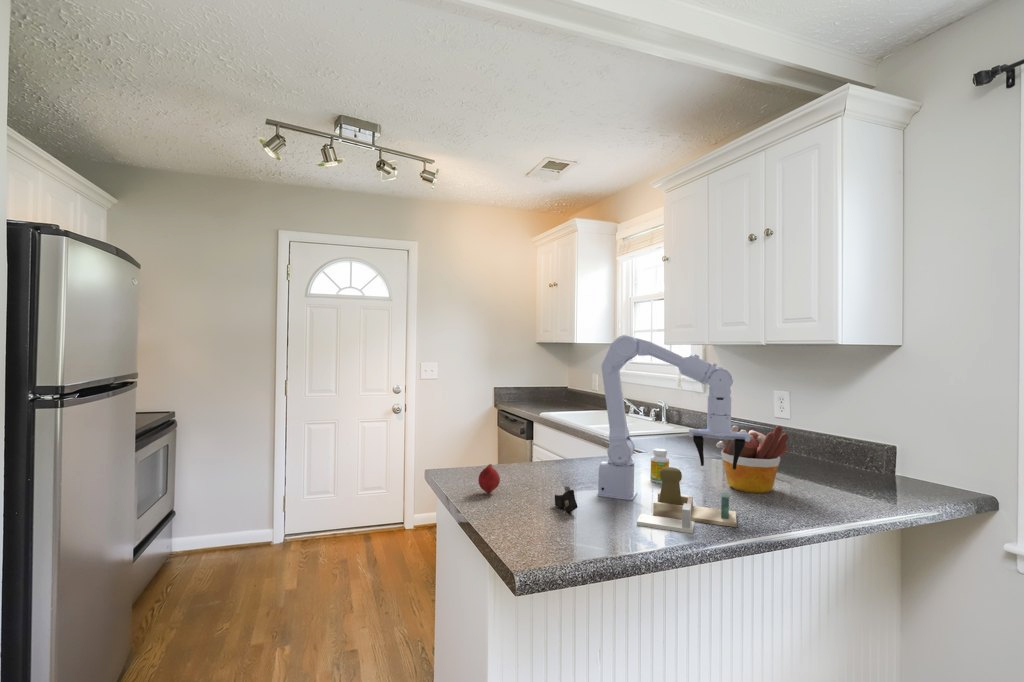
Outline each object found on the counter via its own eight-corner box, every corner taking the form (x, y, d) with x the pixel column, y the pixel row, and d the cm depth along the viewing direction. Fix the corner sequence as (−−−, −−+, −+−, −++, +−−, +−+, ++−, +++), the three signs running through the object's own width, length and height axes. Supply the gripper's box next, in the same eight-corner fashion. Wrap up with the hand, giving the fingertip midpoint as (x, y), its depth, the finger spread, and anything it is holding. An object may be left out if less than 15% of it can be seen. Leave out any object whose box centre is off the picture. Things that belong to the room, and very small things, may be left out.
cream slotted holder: (653, 515, 123) (653, 491, 123) (657, 504, 132) (658, 481, 132) (736, 527, 115) (737, 501, 116) (735, 514, 125) (736, 491, 125)
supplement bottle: (656, 483, 153) (657, 451, 154) (647, 479, 159) (647, 448, 159) (672, 483, 155) (672, 451, 155) (662, 478, 160) (662, 447, 160)
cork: (679, 509, 129) (680, 465, 129) (685, 517, 123) (686, 471, 123) (655, 508, 129) (656, 464, 129) (660, 515, 123) (660, 470, 123)
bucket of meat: (705, 482, 156) (706, 418, 157) (743, 478, 163) (744, 416, 163) (760, 501, 138) (762, 427, 138) (801, 495, 145) (802, 425, 145)
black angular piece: (555, 518, 127) (550, 496, 130) (563, 517, 128) (558, 495, 131) (569, 508, 120) (564, 484, 123) (578, 507, 121) (572, 483, 124)
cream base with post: (636, 524, 115) (637, 503, 115) (640, 517, 121) (641, 497, 121) (692, 533, 111) (693, 511, 111) (694, 525, 116) (694, 504, 116)
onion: (489, 497, 134) (490, 467, 134) (473, 493, 138) (474, 464, 138) (503, 493, 139) (504, 463, 139) (487, 489, 142) (488, 460, 143)
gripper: (688, 413, 131) (687, 466, 130) (750, 418, 125) (749, 473, 125) (690, 411, 137) (689, 461, 137) (749, 414, 132) (748, 467, 132)
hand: (718, 466), depth 131 cm, fingers open, 7 cm apart
